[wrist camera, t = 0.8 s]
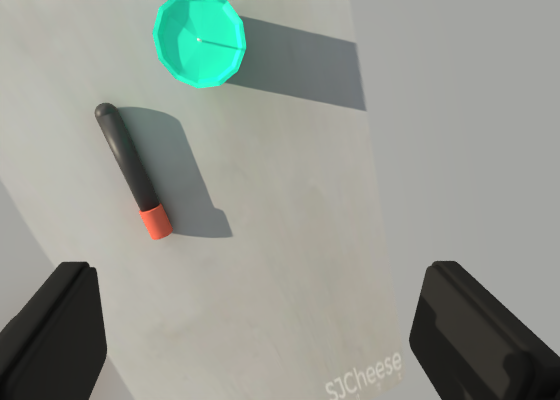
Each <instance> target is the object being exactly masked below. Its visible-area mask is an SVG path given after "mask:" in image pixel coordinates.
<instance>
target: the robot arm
mask: <svg viewBox="0 0 560 400" xmlns="http://www.w3.org/2000/svg"><path fill="white" fill-rule="evenodd" d="M409 342H410V347H411V349H412V351H413V353H414V355H415V356H416V358H417V360H418V361H419V363H420V365H421V366H422V368H423V369H424V371H425V373H426V374H427V376H428V378H429V379H430V381H431V383H432V384H433V386H434V387H435V389H436V391H437V393H438V394H439V396H440V398H441V399H442V400H560V357H559V356H558V355H557V354H556V353H555V352H554V351H553V350H551V349H550V348H549V347H548V346H547V345H546V344H545V343H544V342H543V341H542V340H540V338H538V337H537V336H536V335H535V334H534V333H533V332H532V331H531V330H530V329H529V328H528V327H527V326H525V325H524V324H523V323H522V322H521V321H520V320H519V319H518V318H517V317H516V316H515V315H514V314H512V313H511V312H510V311H509V310H508V309H507V308H506V307H505V306H504V305H502V303H501V302H499V301H498V300H497V299H496V298H495V297H494V296H493V295H492V294H491V293H490V292H489V291H488V290H486V289H485V288H484V287H483V286H482V285H481V284H480V283H479V282H478V281H477V280H476V279H475V278H473V277H472V276H471V275H470V274H469V273H468V272H467V271H466V270H465V269H464V268H462V266H461V265H459V264H458V263H457V262H455V261H435V262H434V263H433V264H432V266H429V267H428V268H427V270H426V273H425V278H424V281H423V285H422V289H421V293H420V297H419V301H418V305H417V309H416V313H415V317H414V321H413V325H412V329H411V333H410V337H409ZM106 354H107V343H106V336H105V329H104V321H103V314H102V307H101V299H100V292H99V285H98V277H97V271H96V269H95V268H94V267H90V266H89V264H88V263H87V262H62V263H61V264H60V265H59V266H58V267H57V268H56V269H55V271H54V272H53V273H52V274H51V275H50V277H49V278H48V279H47V280H46V281H45V283H44V284H43V285H42V286H41V287H40V289H39V290H38V291H37V292H36V293H35V294H34V296H33V297H32V298H31V299H30V300H29V301H28V303H27V304H26V305H25V306H24V307H23V309H22V310H21V311H20V312H19V313H18V315H16V316H15V317H14V318H13V319H12V320H10V322H9V323H8V324H7V325H6V326H5V328H4V329H3V330H2V331H1V332H0V400H89V397H90V395H91V393H92V390H93V388H94V386H95V383H96V381H97V379H98V376H99V374H100V372H101V369H102V367H103V364H104V362H105V359H106Z"/></svg>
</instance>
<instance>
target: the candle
mask: <svg viewBox="0 0 560 400" xmlns="http://www.w3.org/2000/svg"><path fill="white" fill-rule="evenodd" d="M153 37H154V42H155V46H156V50H157V54H158V58H159V60H160V61H161V62H162V64H163V65H164V66H165V67H166V68H167V69H168V71H169V72H170V73H171V74H172V75H173V76H174V78H175V79H177V80H179V81H182V82H184V83H187V84H189V85H191V86H194V87H196V88H204V87H212V86H220V85H221V84H223V83H224V82H225V81H226V80H227V79H229V78H230V77H231V76H232V75H233V74H235V73H236V72H237V71H238V70H239V67H240V64H241V61H242V59H243V56H244V53H245V50H246V41H245V34H244V27H243V21H242V20H241V19H240V17H239V16H238V15H237V13H236V12H235V11H234V9H233V8H232V6H231V5H230V4H229V2H228V1H227V0H168V1H167V2H166V3H164V4H163V5H162V6H161V7H160V8H159V10H158V14H157V18H156V22H155V25H154V29H153Z"/></svg>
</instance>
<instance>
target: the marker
mask: <svg viewBox="0 0 560 400" xmlns="http://www.w3.org/2000/svg"><path fill="white" fill-rule="evenodd" d="M95 117H96V119H97V121H98V123H99V125H100V127H101V129H102V131H103V134H104V136H105V138H106V140H107V142H108V144H109V146H110V148H111V150H112V152H113V154H114V156H115V158H116V160H117V162H118V165H119V167H120V169H121V171H122V173H123V175H124V177H125V179H126V181H127V183H128V185H129V187H130V189H131V191H132V193H133V196H134V198H135V200H136V202H137V204H138V206H139V208H140V211H139V213H140V215H141V217H142V219H143V221H144V223H145V225H146V227H147V229H148V231H149V233H150V235H151V238H152V239H154V240H157V239H161V238H164V237H166V236H167V235H169V234H170V233H171V232H172V231H173V228H172V226H171V224H170V222H169V220H168V217H167V215H166V213H165V211H164V209H163V206H162V204H161V203H160V202H159V200H158V198H157V196H156V193H155V191H154V189H153V187H152V185H151V183H150V180H149V178H148V176H147V174H146V172H145V169H144V167H143V165H142V163H141V161H140V158H139V156H138V154H137V152H136V150H135V147H134V145H133V143H132V141H131V139H130V136H129V134H128V132H127V130H126V128H125V125H124V123H123V121H122V119H121V117H120V115H119V112H118V110H117V109H116V107H115V106H113V105H112V104H109V103H102V104H100V105H98V106H97V107H96V109H95Z"/></svg>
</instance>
